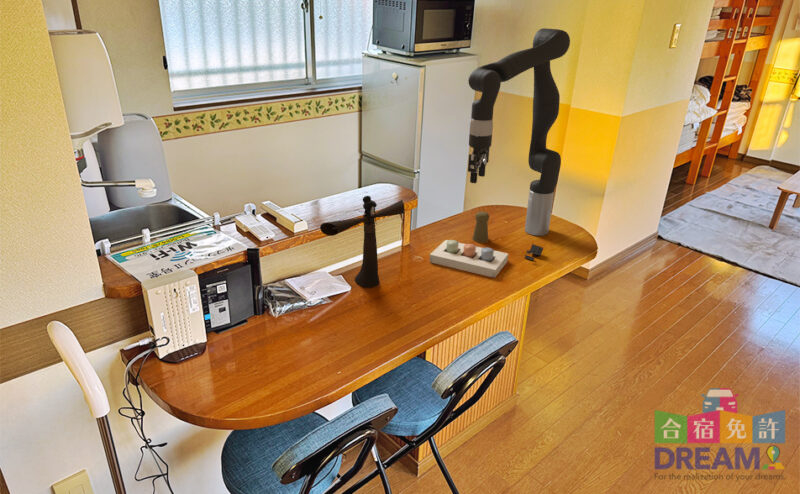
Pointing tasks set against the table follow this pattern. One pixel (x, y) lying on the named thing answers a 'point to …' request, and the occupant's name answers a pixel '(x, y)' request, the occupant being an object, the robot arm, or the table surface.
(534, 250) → the building blocks
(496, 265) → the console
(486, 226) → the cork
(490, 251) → the slate button
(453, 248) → the pale green rounded piece
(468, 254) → the terracotta button
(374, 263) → the outstretched arms figurine
